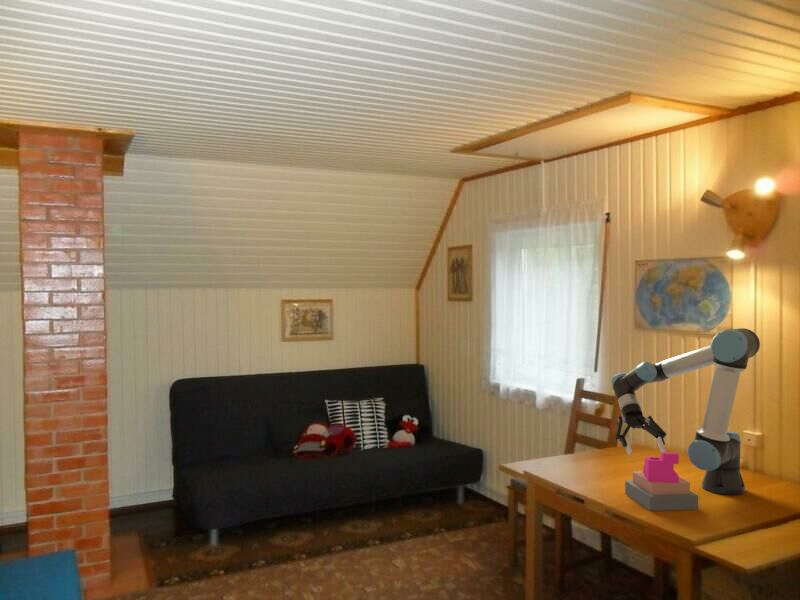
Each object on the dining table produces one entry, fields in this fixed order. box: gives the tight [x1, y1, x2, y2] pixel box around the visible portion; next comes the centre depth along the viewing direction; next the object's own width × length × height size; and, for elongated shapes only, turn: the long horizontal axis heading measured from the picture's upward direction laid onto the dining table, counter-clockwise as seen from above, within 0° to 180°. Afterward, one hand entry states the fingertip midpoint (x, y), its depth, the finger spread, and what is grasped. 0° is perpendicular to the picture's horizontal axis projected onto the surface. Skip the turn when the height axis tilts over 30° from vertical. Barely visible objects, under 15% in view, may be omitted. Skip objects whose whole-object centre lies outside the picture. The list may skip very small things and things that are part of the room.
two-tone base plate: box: [624, 470, 699, 512], centre depth 246 cm, size 18×20×9 cm
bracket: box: [642, 451, 680, 483], centre depth 245 cm, size 12×10×10 cm
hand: (647, 453), depth 256 cm, fingers open, 13 cm apart
